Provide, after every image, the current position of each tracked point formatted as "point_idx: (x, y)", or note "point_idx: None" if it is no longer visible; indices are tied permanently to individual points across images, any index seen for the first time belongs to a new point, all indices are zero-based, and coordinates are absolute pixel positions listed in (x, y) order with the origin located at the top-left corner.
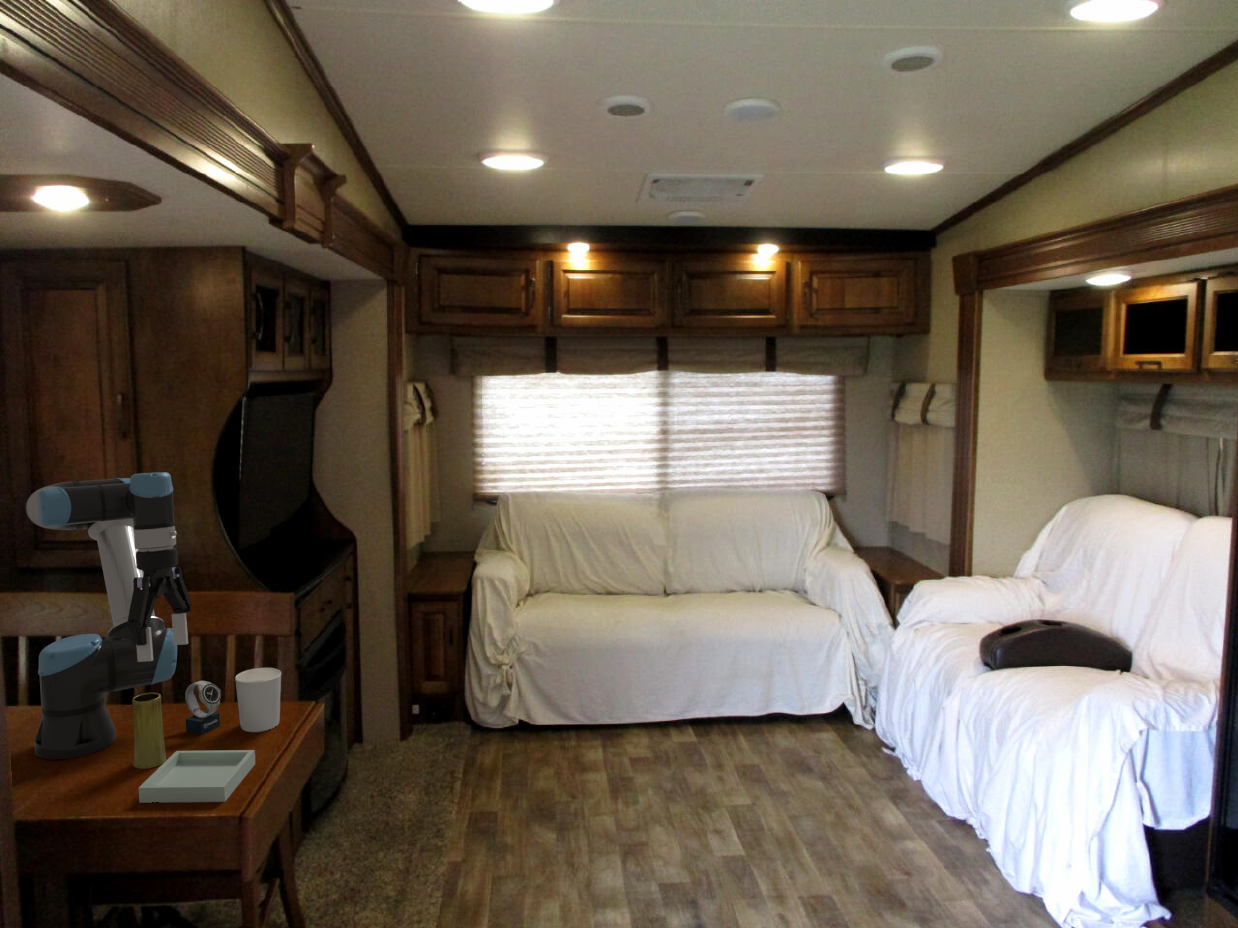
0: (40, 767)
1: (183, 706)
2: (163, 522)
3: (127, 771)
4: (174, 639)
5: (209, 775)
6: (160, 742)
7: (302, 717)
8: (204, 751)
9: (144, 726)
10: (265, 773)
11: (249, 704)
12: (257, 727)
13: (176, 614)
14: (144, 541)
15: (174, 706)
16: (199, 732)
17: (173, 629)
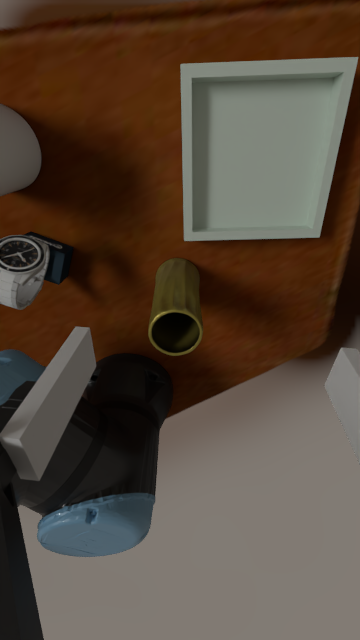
0: (191, 391)
1: None
2: None
3: (205, 295)
4: (88, 377)
5: (248, 145)
6: (182, 272)
7: None
8: (186, 186)
9: (199, 304)
10: (226, 21)
11: (14, 152)
12: (34, 138)
13: (33, 463)
14: None
15: None
16: (71, 251)
17: (73, 409)
